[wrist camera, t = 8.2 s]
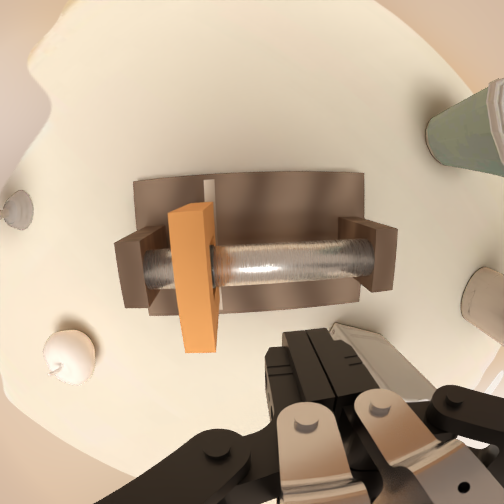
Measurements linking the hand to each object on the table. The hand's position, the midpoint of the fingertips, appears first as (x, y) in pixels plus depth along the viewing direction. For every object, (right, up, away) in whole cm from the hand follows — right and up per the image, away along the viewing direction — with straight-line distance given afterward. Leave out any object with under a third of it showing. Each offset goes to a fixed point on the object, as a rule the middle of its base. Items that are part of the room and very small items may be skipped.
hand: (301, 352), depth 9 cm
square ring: (-6, +3, +15) cm, 17 cm away
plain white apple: (-24, -8, +21) cm, 33 cm away
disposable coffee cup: (+22, +18, +18) cm, 34 cm away
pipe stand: (-2, +5, +19) cm, 20 cm away
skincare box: (+11, -8, +23) cm, 27 cm away
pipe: (-1, +3, +13) cm, 13 cm away
